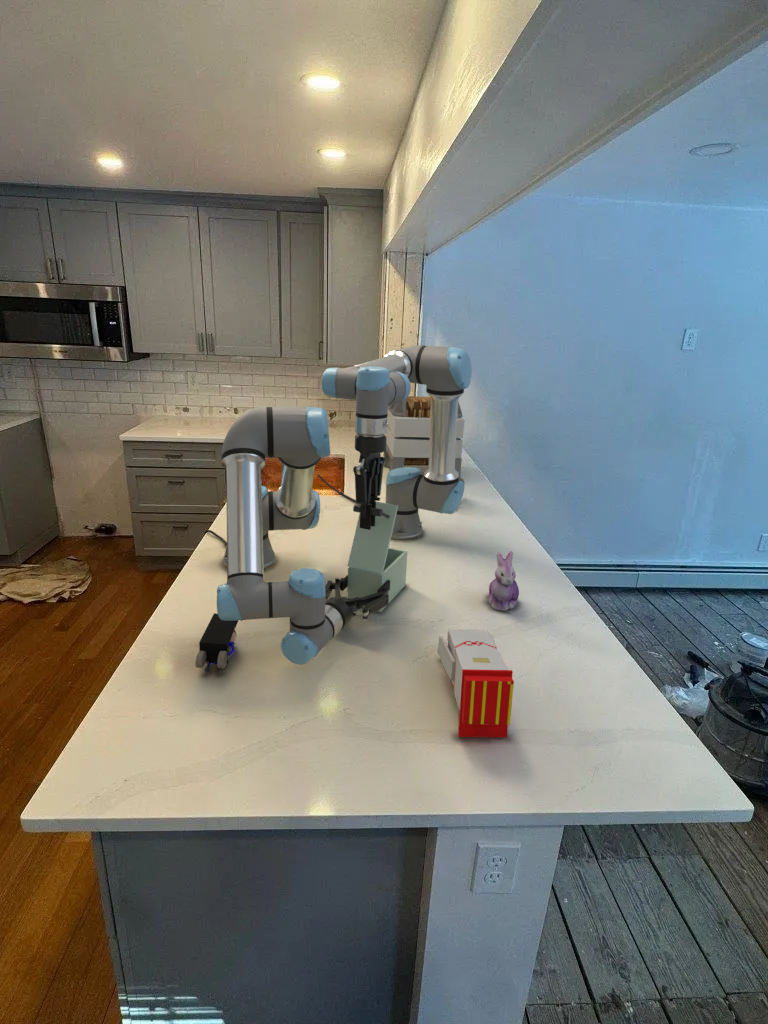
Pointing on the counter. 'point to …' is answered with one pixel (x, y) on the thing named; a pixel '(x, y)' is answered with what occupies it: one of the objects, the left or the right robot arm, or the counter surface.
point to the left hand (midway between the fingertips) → (370, 580)
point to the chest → (379, 577)
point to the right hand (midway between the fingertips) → (367, 526)
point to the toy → (478, 682)
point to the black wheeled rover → (216, 643)
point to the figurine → (503, 584)
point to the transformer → (414, 434)
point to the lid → (373, 539)
